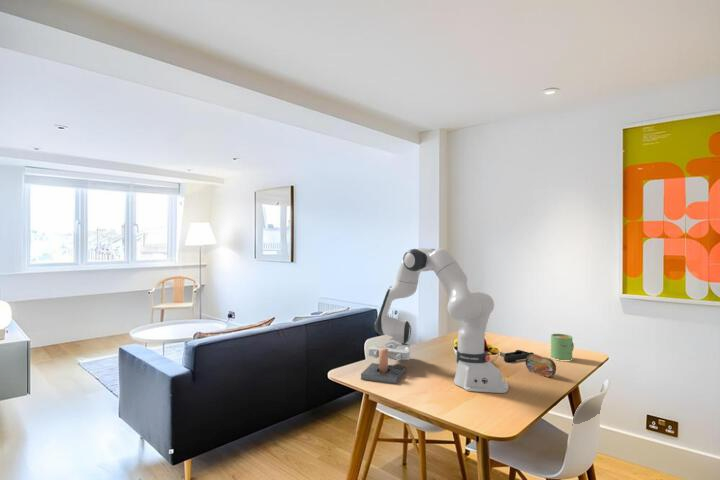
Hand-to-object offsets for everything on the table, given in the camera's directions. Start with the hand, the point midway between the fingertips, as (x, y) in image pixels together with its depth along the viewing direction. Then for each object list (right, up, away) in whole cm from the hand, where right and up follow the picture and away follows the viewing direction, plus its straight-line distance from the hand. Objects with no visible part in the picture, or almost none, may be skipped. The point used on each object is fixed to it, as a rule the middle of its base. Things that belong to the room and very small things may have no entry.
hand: (385, 357), depth 183 cm
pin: (-1, -8, -3) cm, 8 cm away
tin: (+73, -9, +2) cm, 73 cm away
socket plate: (-1, -8, -3) cm, 8 cm away
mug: (+96, -9, +27) cm, 100 cm away
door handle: (+70, -9, +29) cm, 76 cm away
